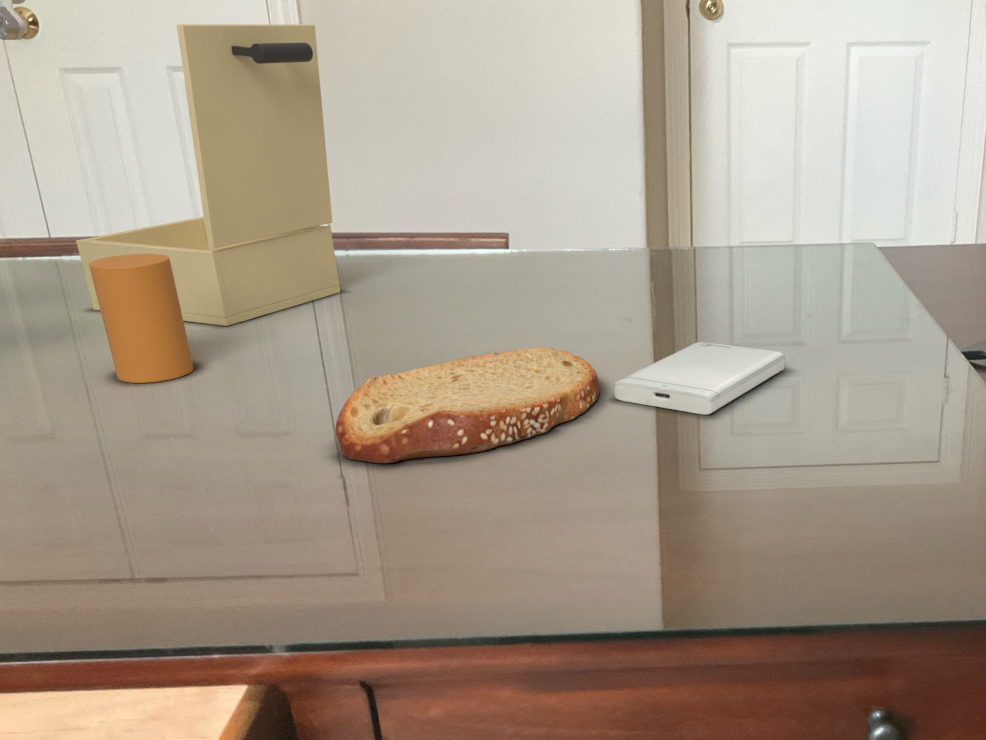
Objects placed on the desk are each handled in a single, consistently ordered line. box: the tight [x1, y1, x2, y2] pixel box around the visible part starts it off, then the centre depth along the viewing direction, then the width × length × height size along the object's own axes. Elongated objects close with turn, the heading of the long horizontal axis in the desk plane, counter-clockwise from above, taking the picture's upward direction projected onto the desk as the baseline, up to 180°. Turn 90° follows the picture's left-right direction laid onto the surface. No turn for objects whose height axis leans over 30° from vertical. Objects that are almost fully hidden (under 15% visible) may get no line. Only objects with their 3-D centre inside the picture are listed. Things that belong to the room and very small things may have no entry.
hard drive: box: [613, 341, 786, 416], centre depth 83 cm, size 2×8×12 cm
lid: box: [176, 23, 333, 248], centre depth 100 cm, size 18×16×4 cm
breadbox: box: [75, 216, 341, 327], centre depth 109 cm, size 18×16×7 cm
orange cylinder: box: [89, 254, 195, 384], centre depth 86 cm, size 6×6×9 cm
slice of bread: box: [334, 346, 600, 464], centre depth 76 cm, size 18×18×4 cm
